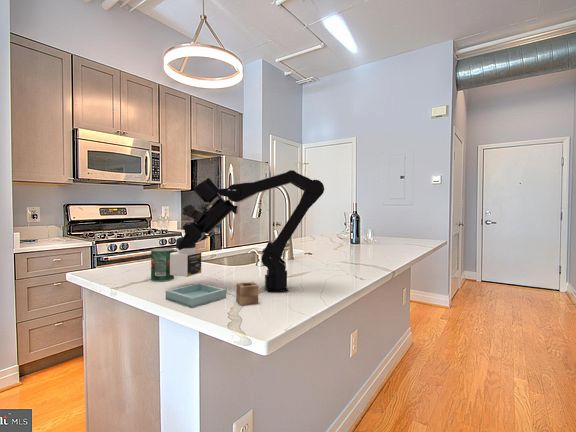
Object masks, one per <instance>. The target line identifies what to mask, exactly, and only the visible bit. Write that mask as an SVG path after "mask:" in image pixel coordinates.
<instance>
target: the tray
mask: <svg viewBox="0 0 576 432" xmlns="http://www.w3.org/2000/svg"><path fill="white" fill-rule="evenodd" d="M224 299H227V289H226V288H221V287H218V286H213V285H209V284H206V283H201V282H199V283H194V284H190V285H186V286H185V285H184V286H181V287H176V288H172V289H167V290H165V300H166V301H169V302H172V303H176V304H179V305H182V306H184V307H189V308H191V309H192V308H193V309H194V308H195V307H200V306H203V305H207V304H210V303H213V302H217V301H220V300H224Z"/></svg>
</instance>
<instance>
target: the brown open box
mask: <svg viewBox="0 0 576 432" xmlns="http://www.w3.org/2000/svg"><path fill="white" fill-rule="evenodd" d="M235 287H236V288H235V289H236V290H235V302H236V303H237V304H238V305H239V306H249V305H258V304H259V285H258V284H257V283H255V282H253V281H249V282H248V281H247V282H246V281H245V282H237V283H236V285H235Z"/></svg>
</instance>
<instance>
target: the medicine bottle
mask: <svg viewBox="0 0 576 432" xmlns="http://www.w3.org/2000/svg"><path fill="white" fill-rule="evenodd" d="M183 237H184V236H183ZM183 237H182V236H181V237H178V238H176V240H175V250H176V251H174V252H173V253H170V275H174V277H177V276H178V277H186V278H188V277H189V278H190V277H191V276H195V275H198V274H201V273H202V251H199V250H197V251H196V248H197V247H196V244H197V243H194V244H192V245H190V246H188V247H186V248H183V249H181V250H179V249H178V248H177V247H178V246H179V244H180V242H181V241H182V239H183Z"/></svg>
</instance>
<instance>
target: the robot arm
mask: <svg viewBox="0 0 576 432" xmlns="http://www.w3.org/2000/svg"><path fill="white" fill-rule="evenodd" d="M289 184H291V185H293V186H295V187H296V188H298V189H300V190H301V191H303V192H302V194H301V197H300V200H299V202H298V204H297V205H296V207H295V209H294V211H292V214H291V215H290V216H289V218H288V220H287V221H286V223H285V224H284V226H283V228H282V229H281V230H280V232H279V234H277V237H276V238H275V239H274V240H273V241H272V240H271V239H269V240H268V242H267V244H266V246H265V247H264V248H263V249H262V251H261V253H262V256H261V263H262V264H263V265H264V267H267V269H266V274H264V288H265V290H266V291H267V292H269V293H274V292H275V293H277V292H289V289H288V271H287V270H286V269H287V264H286V261H285V260H284V258H282V256H283V253H284V251H285V249H286V246H287V244H288V242H289V240H290V239H291V237H292V236H293V234H294V233H295V231H296V229H297V228H298V227H299V225H300V223H301V222H302V220H303V219H304V217H305V215H306V213H307V212H308V210H309V209H310V208H311V207H312V206H313V205H314V204H315V203H316V202H317V201H318V200H319V199H320V198H321V196H322V195H323V194H324V191H325V186H324V183H323V182H322V181H321V180H319V179H311V178H309V177H307V176H305V175H303V174H300V173H298V172H297V171H295V170H294V169H291V170H290V169H289V170H288V171H286V172H282V173H280V174H276V175H273V176H269V177H266V178H263V179H259V180H255V181H251V182H250V181H249V182H239V183H234V184H233V183H232V184H230V185H229V186H228V187H225V188H222V187H221V188H219V186H218V185H216V184H215V182H214V181H213V180H212V179H211V178H210V177H207V178H206V179H205V180H203V181H202V182H200V183H198V184H197V185H196V186H195V188H194V189H193V193H194V194H195V195H196V196H198V198H199V199H200V200H201V201H202V202H203V203H204V204H206V205H208V204H209V205H211V206H210V207H209V208H208V209H204V210H201V209H198V208H197V207H196V206H195V205H192V204H186V205H185V206H184V207H183V208H182V213H181V214H182V215H183V216H186V217H188V218H190V219H193V221H188V222H186V223H184V225H183V226H182V229H183V230H184V235H183V239H182V241H181V242H180V244H179V246H178V247H177V248H178V249H179V250H181V249H183V248H186V247H188V246H190V245H192V244H194V243H196V244H197V243H199V242H202V241H204V240H206V239H208V238H209V237H212V236H213V235H214V234H215V228H216V227H217V226H218V225H220V224H221V223H222V221H223V220H224V219H225V218H226V217H228V216H229V214H230V213H231V212H232V213H233V214H234V215H238V214H239V211H238V210H239V209H238V208H239V206H238V205H234V204H233V203H232V202H234V203H242V202H244V201H245V200H248V199H250V198H252V197H253V196H255V195H258V194H259V193H263V192H267V191H269V190H272V189H276V188H279V187H282V186H286V185H289ZM223 197H227V198H228V199H225V198H223Z"/></svg>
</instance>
